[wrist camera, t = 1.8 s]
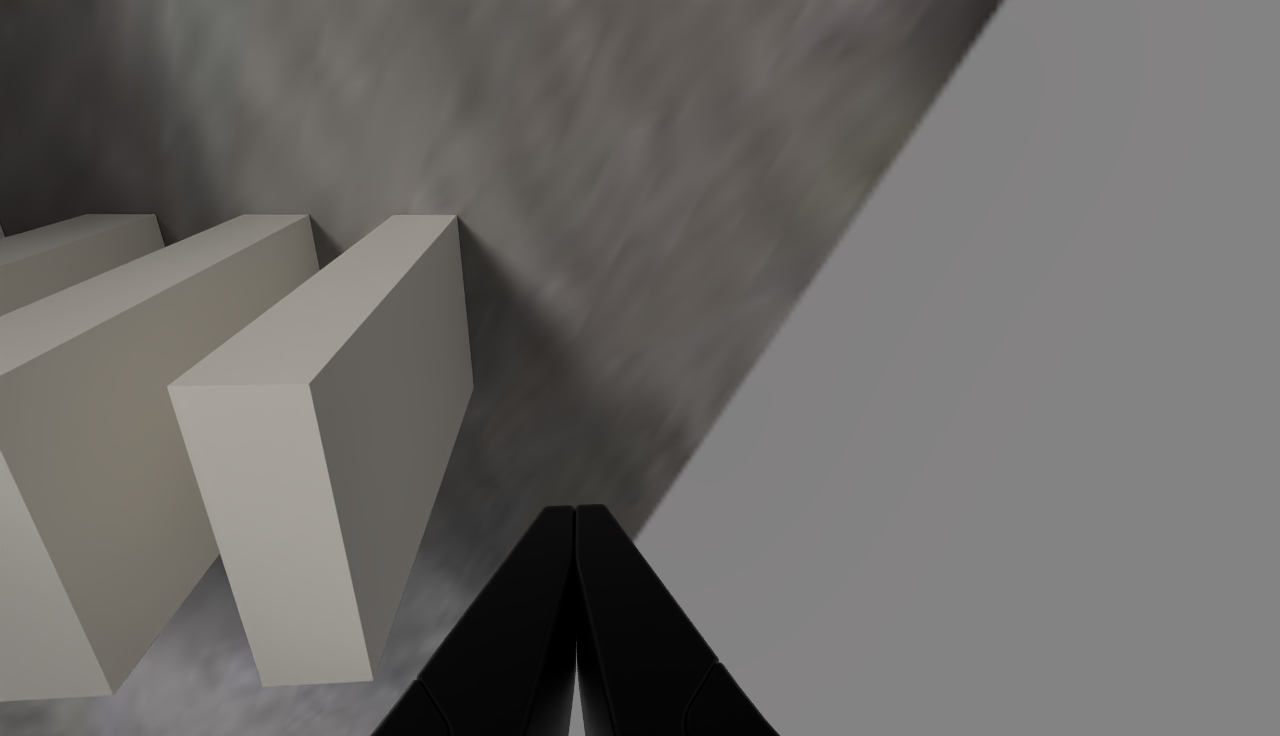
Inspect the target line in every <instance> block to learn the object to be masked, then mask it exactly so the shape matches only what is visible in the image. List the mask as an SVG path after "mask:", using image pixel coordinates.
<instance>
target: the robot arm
mask: <svg viewBox="0 0 1280 736" xmlns="http://www.w3.org/2000/svg"><path fill="white" fill-rule="evenodd" d="M576 642H577V670H578V681H579V689H580V697H581V705H582V712H583V720H584V728H585V736H780V735H779V734H778V733H777V732H776V731H775V730H774V729H773V727H772V726H771V725H770V724H769V723H768V722H767V721H766V720H765V718H764V717H763V716H762V715H761V713H760V712H759V711H758V709H757V708H756V707H755V706H754V704H753V703H752V702H751V701H750V699H749V698H748V697H747V696H746V695H745V693H744V692H743V690H742V689H741V688H740V687H739V685H738V684H737V683H736V681H735V680H734V679H733V677H732V676H731V675H730V673H729V672H728V670H727V669H726V668H725V666H724V665H723V664H722V663H719V659H718V657H717V656H716V655H715V653H714V652H713V651H712V649H711V648H710V646H709V645H708V644H707V642H706V641H705V640H704V638H703V637H702V636H701V634H700V633H699V632H698V630H697V629H696V628H695V626H694V625H693V623H692V622H691V621H690V619H689V618H688V617H687V616H686V614H685V613H684V611H683V610H682V609H681V607H680V606H679V605H678V603H677V602H676V600H675V599H674V598H673V596H672V595H671V594H670V592H669V591H668V590H667V589H666V587H665V586H664V584H663V583H662V582H661V580H660V579H659V577H658V576H657V575H656V573H655V572H654V571H653V569H652V568H651V567H650V565H649V564H648V563H647V561H646V560H645V559H644V557H643V556H642V554H641V553H640V552H639V550H638V549H637V548H636V546H635V545H634V544H633V542H632V541H631V540H630V538H629V537H628V536H627V534H626V533H625V531H624V530H623V529H622V527H621V526H620V525H619V523H618V522H617V521H616V519H615V518H614V517H613V515H612V514H611V513H610V511H609V510H608V509H607V507H606V506H605V505H603V504H592V505H578V506H577V507H576V509H575V510H574V508H573V507H572V506H570V505H564V506H546V507H545V508H543V510H542V511H541V512H540V514H539V515H538V516H537V518H536V519H535V520H534V522H533V523H532V524H531V526H530V527H529V528H528V529H527V531H526V532H525V533H524V535H523V536H522V537H521V539H520V540H519V541H518V543H517V544H516V545H515V547H514V548H513V549H512V551H511V552H510V553H509V555H508V556H507V557H506V559H505V560H504V561H503V563H502V564H501V565H500V567H499V568H498V569H497V571H496V572H495V573H494V575H493V576H492V577H491V579H490V580H489V581H488V583H487V584H486V585H485V587H484V588H483V589H482V590H481V592H480V593H479V594H478V596H477V597H476V598H475V600H474V601H473V602H472V604H471V605H470V606H469V608H468V609H467V610H466V612H465V613H464V614H463V616H462V617H461V618H460V620H459V621H458V622H457V624H456V625H455V626H454V628H453V629H452V630H451V632H450V633H449V634H448V636H447V637H446V638H445V640H444V641H443V642H442V643H441V645H440V646H439V647H438V649H437V650H436V651H435V653H434V654H433V655H432V657H431V658H430V659H429V661H428V662H427V663H426V665H425V666H424V667H423V669H422V670H421V671H420V673H419V674H418V676H417V680H414V681H412V683H411V684H410V685H409V687H408V688H407V689H406V691H405V692H404V693H403V695H402V696H401V697H400V699H399V700H398V701H397V703H396V704H395V705H394V707H393V708H392V709H391V710H390V712H389V713H388V714H387V715H386V717H385V718H384V719H383V720H382V722H381V723H380V724H379V725H378V727H377V728H376V729H375V730H374V732H373V733H372V734H371V735H370V736H568V734H569V726H570V718H571V717H570V716H571V710H572V701H573V693H574V684H575V673H576Z"/></svg>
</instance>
